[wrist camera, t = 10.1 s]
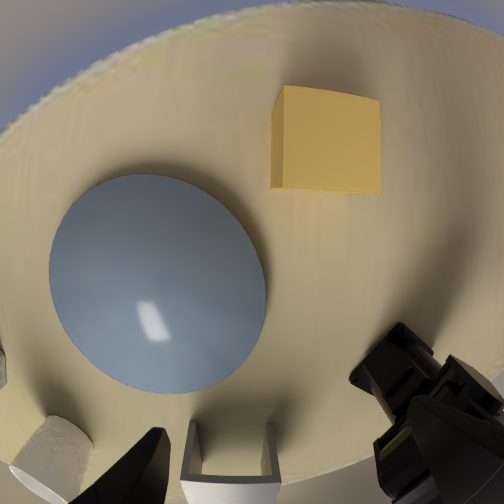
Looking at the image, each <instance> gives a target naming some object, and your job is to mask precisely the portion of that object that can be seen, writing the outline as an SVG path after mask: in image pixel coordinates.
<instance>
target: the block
mask: <svg viewBox="0 0 504 504" xmlns="http://www.w3.org/2000/svg"><path fill="white" fill-rule="evenodd" d="M381 167H382V152H381V119H380V104H379V100H375V99H370V98H366V97H361V96H356V95H351V94H346V93H341V92H335V91H329V90H322V89H315V88H307V87H299V86H289V85H284V86H283V88H282V91H281V93H280V95H279V97H278V100H277V102H276V104H275V107H274V109H273V111H272V139H271V183H270V189H289V190H308V191H323V192H337V193H354V194H375V195H381Z"/></svg>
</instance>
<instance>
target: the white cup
mask: <svg viewBox="0 0 504 504" xmlns="http://www.w3.org/2000/svg"><path fill="white" fill-rule="evenodd" d="M92 452H93V443H92V442H91V440H90V439H89V438H88V436H87V435H86V434H85V433H84V432H83V431H82V430H81V429H79V428H78V427H77V426H76V425H74V424H73V423H71V422H69V421H68V420H66V419H64V418H61V417H59V416H48V418H47V419H46V420H45V422H44V423H43V424H42V425H41V426H40V428H39V429H37V430H36V431H35V433H34V434H33V435H32V436H31V437H30V438H29V440H28V441H27V442H26V444H25V445H24V446H23V448H22V449H21V450H20V452H19V453H18V454H17V456H16V457H15V458H14V460H13V461H12V462H11V464H10V465H9V468H10V470H11V471H12V473H13V474H14V475H15V476H16V477H17V478H18V480H20V481H21V482H22V483H23V484H24V485H25V486H26V487H27V488H29V489H30V490H31V491H33V492H34V493H35V494H37V495H38V496H40V497H41V498H43V499H44V500H46V501H48V502H49V503H51V504H67V503H69V502H70V501H72V500H73V499H75V498H76V497H78V494H79V491H80V488H81V486H82V483H83V480H84V476H85V473H86V470H87V467H88V462H89V460H90V457H91V455H92Z"/></svg>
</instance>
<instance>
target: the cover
mask: <svg viewBox="0 0 504 504" xmlns="http://www.w3.org/2000/svg"><path fill="white" fill-rule="evenodd" d="M261 472H262V476H218V475H202V474H201V473H202V457H201V451H200V445H199V438H198V431H197V424H196V422H191V421H190V422H189V428H188V434H187V439H186V445H185V451H184V457H183V463H182V470H181V476H180V482H181V485H182V488H183V491H184V494H185V496H186V499H187V501H188V504H275V503H276V499H277V497H278V493H279V490H280V486H281V483H282V482H281V476H280V469H279V463H278V456H277V450H276V444H275V437H274V431H273V424H272V423H269V424H266V425H265V434H264V442H263V451H262V459H261Z"/></svg>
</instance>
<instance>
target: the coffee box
mask: <svg viewBox="0 0 504 504" xmlns="http://www.w3.org/2000/svg"><path fill="white" fill-rule="evenodd" d="M5 385H6V371H5V355H4V353H3V352H2V351H1V350H0V390H1V389H2V388H3V387H4V386H5Z"/></svg>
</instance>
